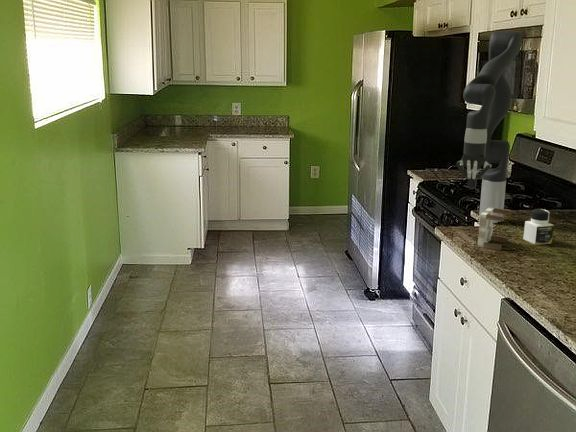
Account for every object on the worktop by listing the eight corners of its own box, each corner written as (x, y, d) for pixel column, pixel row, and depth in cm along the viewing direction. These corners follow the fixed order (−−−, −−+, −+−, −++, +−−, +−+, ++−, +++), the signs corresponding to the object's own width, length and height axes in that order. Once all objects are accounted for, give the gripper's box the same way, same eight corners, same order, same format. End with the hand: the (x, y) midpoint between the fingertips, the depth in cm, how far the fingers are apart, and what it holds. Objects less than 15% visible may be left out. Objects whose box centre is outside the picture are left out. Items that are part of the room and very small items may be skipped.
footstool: (486, 238, 228) (489, 207, 225) (508, 241, 224) (511, 210, 221) (477, 246, 219) (480, 214, 215) (500, 250, 215) (503, 217, 211)
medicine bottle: (535, 245, 220) (538, 213, 217) (522, 239, 227) (526, 208, 224) (551, 243, 222) (555, 211, 219) (539, 237, 229) (542, 207, 226)
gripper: (497, 141, 216) (492, 188, 221) (460, 138, 223) (456, 184, 228) (491, 143, 210) (487, 192, 215) (453, 140, 217) (450, 188, 221)
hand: (471, 188), depth 221 cm, fingers closed
